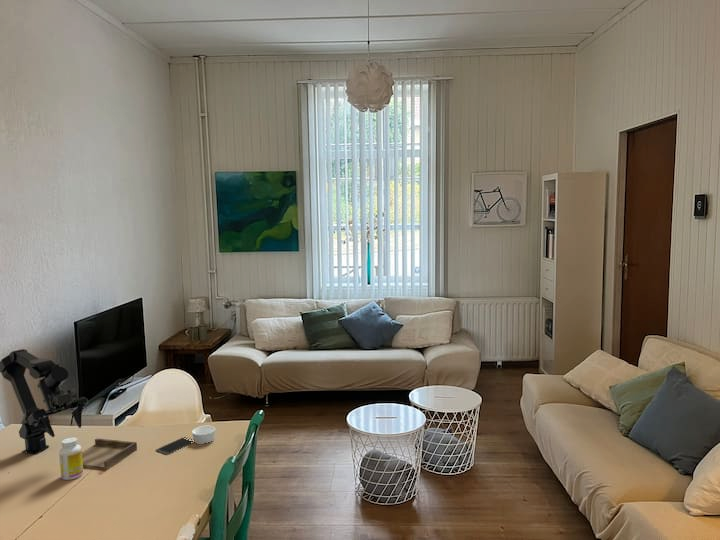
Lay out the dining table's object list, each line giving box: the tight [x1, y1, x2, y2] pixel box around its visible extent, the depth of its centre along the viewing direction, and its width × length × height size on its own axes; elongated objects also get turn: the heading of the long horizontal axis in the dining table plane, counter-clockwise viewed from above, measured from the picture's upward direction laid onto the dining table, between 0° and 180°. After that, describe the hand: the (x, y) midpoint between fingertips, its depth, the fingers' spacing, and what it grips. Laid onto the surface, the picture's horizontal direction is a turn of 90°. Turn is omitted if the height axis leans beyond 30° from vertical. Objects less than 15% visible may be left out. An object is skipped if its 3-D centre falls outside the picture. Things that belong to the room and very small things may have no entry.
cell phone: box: [155, 436, 193, 456], centre depth 197 cm, size 7×14×1 cm, turn 148°
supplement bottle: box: [58, 436, 84, 481], centre depth 174 cm, size 7×7×13 cm
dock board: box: [82, 438, 138, 471], centre depth 188 cm, size 18×16×3 cm
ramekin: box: [191, 425, 216, 445], centre depth 201 cm, size 9×9×4 cm
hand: (67, 432), depth 180 cm, fingers open, 9 cm apart
